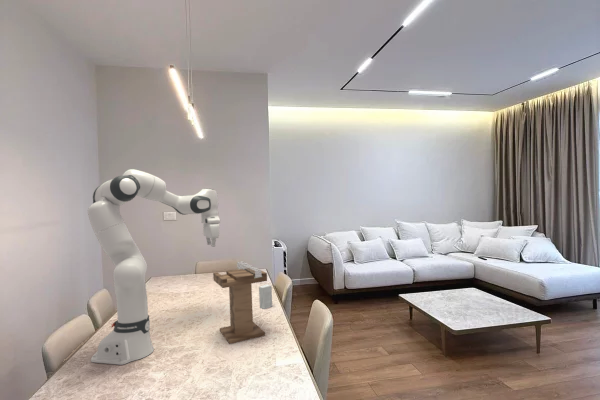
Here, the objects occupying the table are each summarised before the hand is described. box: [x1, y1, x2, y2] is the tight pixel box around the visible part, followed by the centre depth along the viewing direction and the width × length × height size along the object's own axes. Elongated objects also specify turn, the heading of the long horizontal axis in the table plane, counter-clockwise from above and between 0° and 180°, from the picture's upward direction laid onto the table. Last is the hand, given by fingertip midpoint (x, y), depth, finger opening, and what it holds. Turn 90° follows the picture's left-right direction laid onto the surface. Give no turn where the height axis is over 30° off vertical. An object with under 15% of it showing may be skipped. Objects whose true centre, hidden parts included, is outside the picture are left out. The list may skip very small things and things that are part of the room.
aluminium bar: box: [236, 260, 262, 278], centre depth 160 cm, size 26×3×3 cm, turn 28°
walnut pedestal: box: [212, 268, 268, 345], centre depth 152 cm, size 16×20×28 cm
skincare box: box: [258, 284, 273, 310], centre depth 188 cm, size 6×4×12 cm
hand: (211, 245), depth 177 cm, fingers open, 8 cm apart
